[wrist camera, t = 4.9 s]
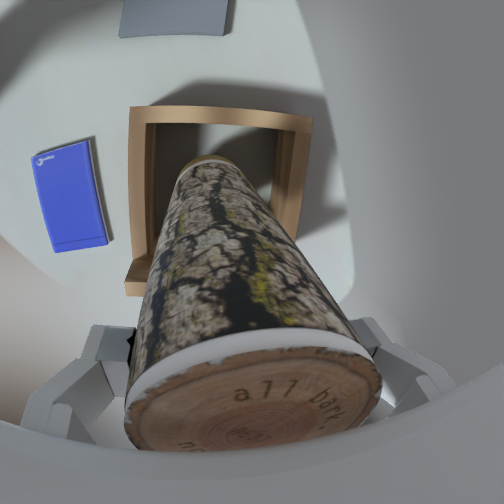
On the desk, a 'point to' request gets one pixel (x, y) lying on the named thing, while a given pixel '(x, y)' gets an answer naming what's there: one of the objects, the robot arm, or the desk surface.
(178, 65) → the desk surface
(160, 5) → the slate pad
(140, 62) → the desk surface
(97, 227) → the hard drive
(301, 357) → the wooden log
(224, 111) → the frame
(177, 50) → the desk surface
